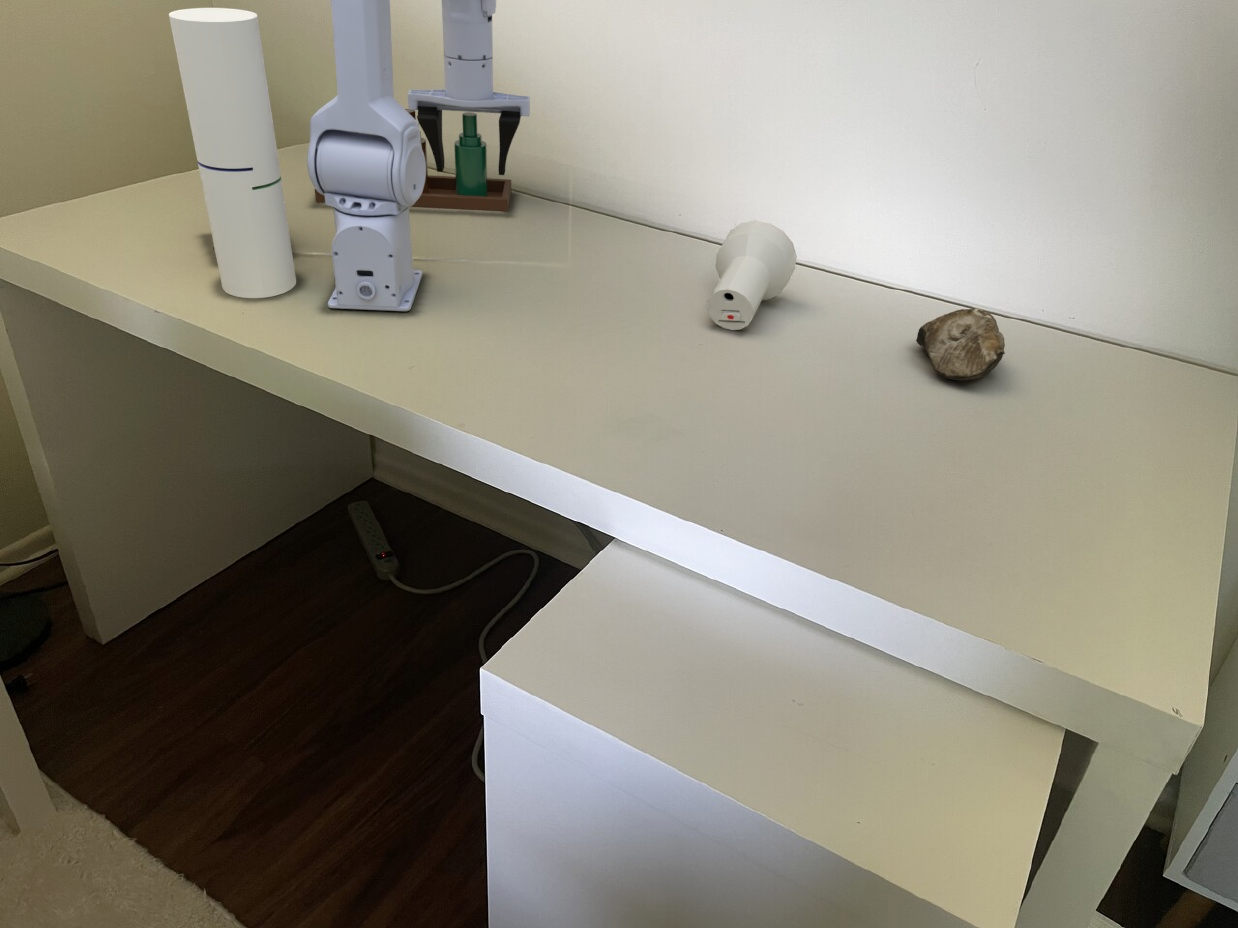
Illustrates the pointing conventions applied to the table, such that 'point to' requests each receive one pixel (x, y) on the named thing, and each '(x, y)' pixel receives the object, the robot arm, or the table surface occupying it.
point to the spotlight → (750, 272)
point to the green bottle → (470, 159)
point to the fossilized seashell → (963, 344)
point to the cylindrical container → (235, 148)
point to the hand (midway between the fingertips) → (471, 171)
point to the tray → (446, 198)
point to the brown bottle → (424, 148)
